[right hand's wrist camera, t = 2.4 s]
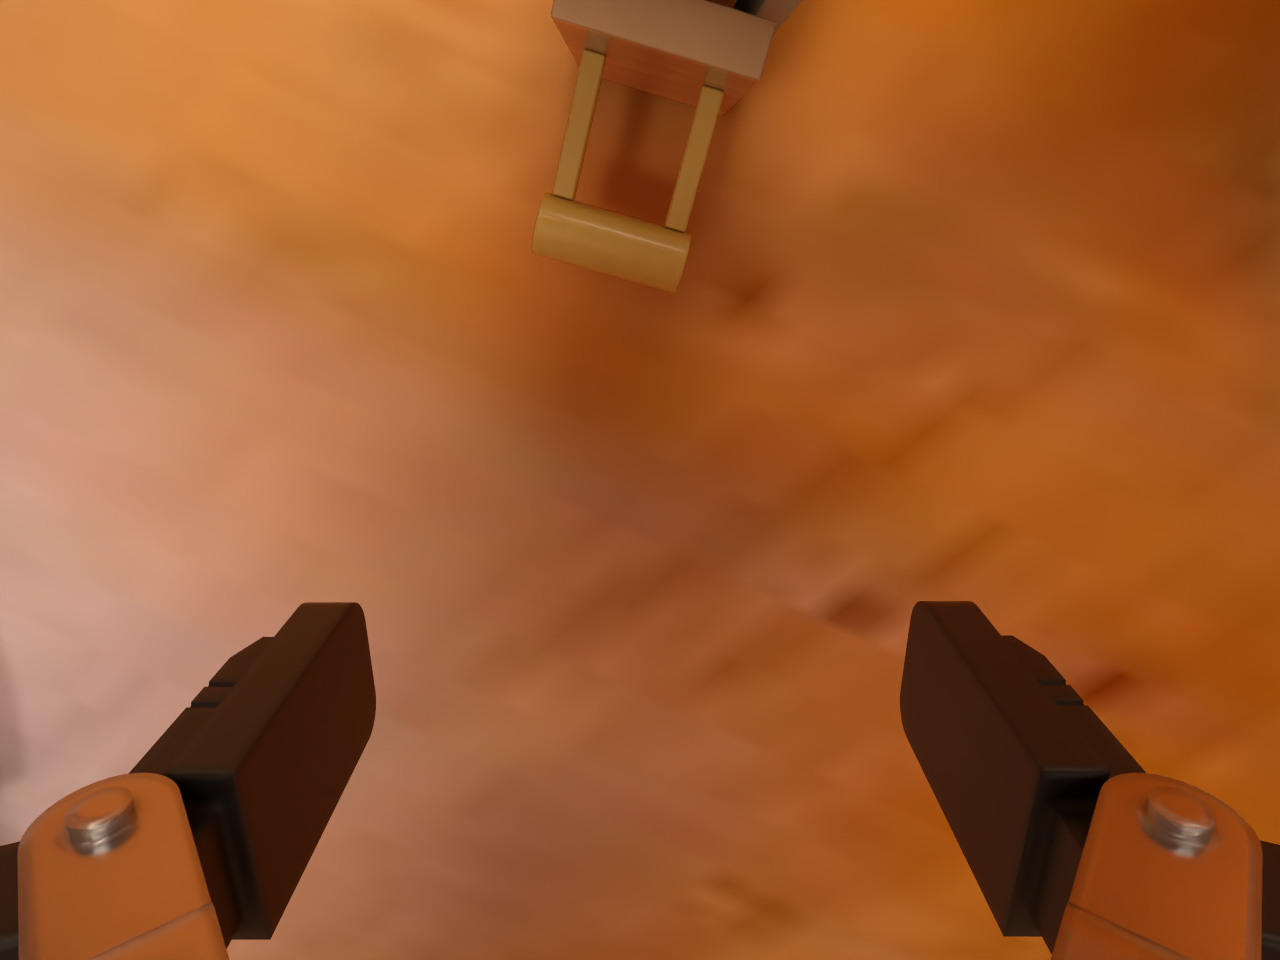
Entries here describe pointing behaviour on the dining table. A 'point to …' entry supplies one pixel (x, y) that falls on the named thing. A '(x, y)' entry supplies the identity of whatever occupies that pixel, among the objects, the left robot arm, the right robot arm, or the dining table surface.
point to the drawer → (665, 66)
